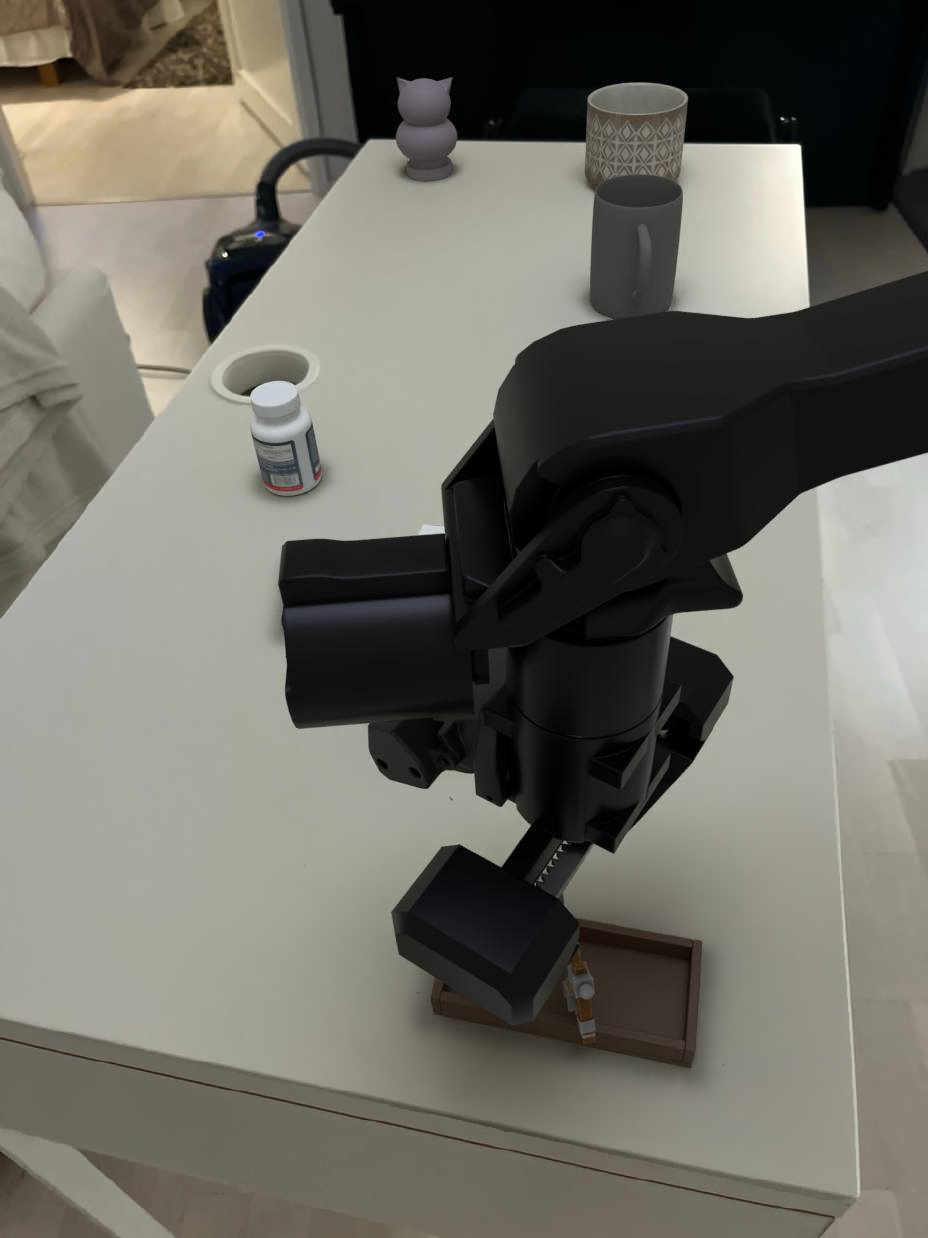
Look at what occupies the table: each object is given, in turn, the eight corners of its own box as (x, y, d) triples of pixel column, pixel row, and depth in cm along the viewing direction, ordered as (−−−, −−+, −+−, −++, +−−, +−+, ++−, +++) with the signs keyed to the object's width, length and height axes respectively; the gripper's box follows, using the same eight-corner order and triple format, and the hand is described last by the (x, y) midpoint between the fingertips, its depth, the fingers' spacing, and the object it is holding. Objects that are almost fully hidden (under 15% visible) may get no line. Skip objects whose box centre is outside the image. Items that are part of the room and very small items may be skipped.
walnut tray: (698, 958, 54) (702, 940, 52) (690, 1068, 50) (695, 1052, 48) (458, 913, 57) (456, 895, 55) (432, 1014, 52) (430, 997, 51)
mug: (586, 283, 112) (590, 175, 103) (667, 280, 111) (678, 171, 103) (595, 343, 102) (600, 229, 94) (684, 340, 102) (697, 225, 93)
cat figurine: (392, 181, 137) (383, 87, 128) (407, 161, 142) (399, 69, 134) (452, 184, 135) (446, 88, 127) (464, 162, 140) (460, 70, 132)
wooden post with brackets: (576, 1061, 47) (568, 986, 46) (537, 954, 55) (528, 886, 53) (612, 1053, 48) (605, 978, 46) (568, 947, 55) (561, 879, 53)
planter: (578, 167, 137) (580, 85, 130) (668, 160, 137) (676, 78, 130) (592, 202, 128) (595, 117, 121) (688, 195, 128) (698, 109, 121)
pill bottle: (298, 455, 90) (281, 369, 84) (334, 477, 87) (319, 390, 81) (251, 481, 88) (230, 394, 82) (286, 505, 85) (267, 417, 79)
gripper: (526, 479, 45) (527, 703, 56) (247, 760, 34) (316, 970, 45) (762, 561, 40) (712, 789, 51) (524, 917, 29) (526, 1109, 40)
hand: (572, 898), depth 47 cm, fingers open, 9 cm apart
